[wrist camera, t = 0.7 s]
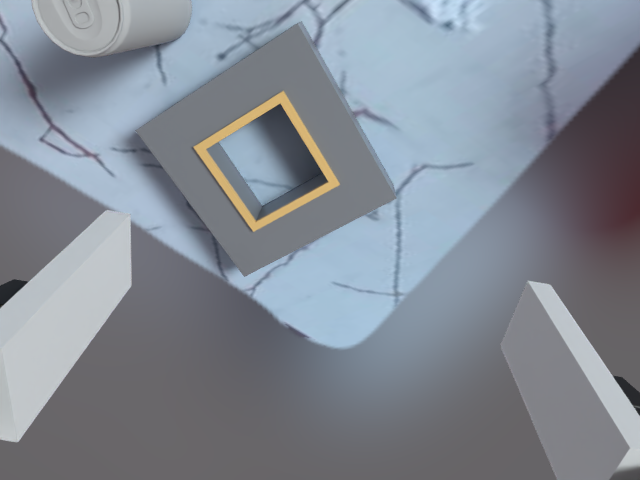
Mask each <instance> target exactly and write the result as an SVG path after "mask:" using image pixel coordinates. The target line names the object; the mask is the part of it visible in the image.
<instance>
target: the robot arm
mask: <svg viewBox="0 0 640 480" xmlns="http://www.w3.org/2000/svg"><path fill="white" fill-rule="evenodd" d="M130 235H131V229H130V214H127V213H121V212H115V211H109V210H106V211H105V212H104V213H103V214H102V215H101V216H99V217H98V218H97V219H96V220H95V221H94V222H93V223H92V224H91V225H90V226H89V227H88V228H87V229H85V230H84V231H83V232H82V233H81V234H80V235H79V236H78V237H77V238H76V239H75V240H74V241H72V242H71V243H70V244H69V245H68V246H67V247H66V248H65V249H64V250H63V251H62V252H61V253H60V254H58V255H57V256H56V257H55V258H54V259H53V260H52V261H51V262H50V263H49V264H48V265H46V267H44V268H43V269H42V270H41V271H40V272H39V273H38V274H37V275H36V276H35V277H34V278H32V279H31V280H30V281H29V282H27V281H21V280H12V281H9V282H7V283H5V284H3V285H1V286H0V439H1V440H7V441H13V442H18V441H19V440H20V438H21V437H22V436H23V434H24V433H25V432H26V430H27V429H28V427H29V426H30V425H31V423H32V422H33V421H34V419H35V418H36V416H37V415H38V414H39V412H40V411H41V409H42V408H43V407H44V405H45V404H46V403H47V401H48V400H49V398H50V397H51V396H52V394H53V393H54V392H55V390H56V389H57V387H58V386H59V385H60V383H61V382H62V381H63V379H64V378H65V376H66V375H67V374H68V372H69V371H70V370H71V368H72V367H73V365H74V364H75V363H76V361H77V360H78V358H79V357H80V356H81V354H82V353H83V352H84V350H85V349H86V347H87V346H88V345H89V343H90V342H91V340H92V339H93V338H94V336H95V335H96V334H97V332H98V331H99V329H100V328H101V327H102V325H103V324H104V323H105V321H106V320H107V318H108V317H109V316H110V314H111V313H112V312H113V310H114V309H115V307H116V306H117V305H118V303H119V302H120V301H121V299H122V298H123V296H124V295H125V294H126V292H127V291H128V289H129V288H130V287H131V236H130ZM500 347H501V349H502V351H503V354H504V356H505V358H506V361H507V363H508V365H509V367H510V370H511V372H512V375H513V377H514V379H515V382H516V384H517V387H518V389H519V391H520V393H521V396H522V398H523V401H524V403H525V405H526V407H527V410H528V412H529V415H530V417H531V419H532V422H533V424H534V426H535V429H536V431H537V434H538V436H539V438H540V441H541V443H542V445H543V448H544V450H545V452H546V454H547V457H548V459H549V462H550V464H551V466H552V469H553V471H554V473H555V476H556V478H557V480H640V393H639V392H638V391H637V390H636V389H635V388H634V387H633V386H631V385H630V384H629V383H628V382H627V381H626V380H625V379H623V378H622V377H618V376H612V375H611V373H610V372H609V370H608V369H607V367H606V366H605V364H604V363H603V361H602V360H601V358H600V357H599V355H598V354H597V353H596V351H595V350H594V348H593V347H592V345H591V344H590V342H589V341H588V339H587V338H586V336H585V335H584V333H583V332H582V331H581V329H580V328H579V326H578V325H577V323H576V322H575V320H574V319H573V317H572V316H571V314H570V313H569V311H568V310H567V309H566V307H565V306H564V304H563V303H562V301H561V300H560V298H559V297H558V295H557V294H556V292H555V291H554V290H553V288H552V286H551V285H550V284H543V283H537V282H532V281H527V284H526V286H525V288H524V291H523V293H522V295H521V298H520V300H519V302H518V305H517V307H516V310H515V312H514V314H513V317H512V319H511V321H510V324H509V326H508V329H507V331H506V333H505V336H504V338H503V340H502V343H501V345H500Z"/></svg>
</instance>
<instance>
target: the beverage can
mask: <svg viewBox="0 0 640 480" xmlns="http://www.w3.org/2000/svg"><path fill="white" fill-rule="evenodd" d="M31 1H32V8H33V11H34V14H35V17H36V19H37V22H38V23H39V25H40V26H41V28H42V30H43V31H44V33H45V34H46V35H47V36H48V37H49V38H50V39H51V40H52V42H53V43H55V44H56V45H58V46H59V47H61V48H62V49H63V50H65V51H68V52H70V53H73V54H75V55H81V56H87V57H101V56H107V55H112V54H116V53H121V52H126V51H130V50H135V49H139V48H144V47H149V46H153V45H158V44H162V43H167V42H171V41H174V40H176V39H178V38H180V37H181V36H182V35H183V34H184V33H185V31H186V29H187V28H188V26H189V23H190V19H191V15H192V2H191V0H31Z"/></svg>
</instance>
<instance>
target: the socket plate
mask: <svg viewBox="0 0 640 480" xmlns="http://www.w3.org/2000/svg"><path fill="white" fill-rule="evenodd" d="M279 104H281V105H282V107H283V109H284V110H285V112H286V113H287V115H288V117H289V118H290V120H291V122H292V123H293V125H294V126H295V128H296V130H297V131H298V133H299V135H300V136H301V138H302V139H303V141H304V143H305V144H306V146H307V148H308V149H309V151H310V152H311V154H312V156H313V157H314V159H315V161H316V162H317V164H318V166H319V167H320V169H321V170H322V172H323V173H322V174H320V175H318V176H316V177H314V178H313V179H311V180H309V181H307V182H305V183H304V184H302V185H300V186H298V187H296V188H295V189H293V190H291V191H289V192H288V193H286V194H284V195H282V196H280V197H279V198H277V199H275V200H273V201H271V202H270V203H268V204H266V205H264V206H262V205H261V204H260V202H259V201H258V199H257V198H256V196H255V195H254V193H253V192H252V191H251V189H250V188H249V186H248V185H247V183H246V182H245V180H244V179H243V177H242V176H241V174H240V173H239V172H238V170H237V169H236V167H235V166H234V164H233V163H232V161H231V160H230V158H229V157H228V155H227V154H226V153H225V151H224V150H223V148H222V147H221V145H220V144H219V141H220V140H222V139H223V138H225V137H227V136H228V135H230V134H232V133H233V132H235V131H236V130H238V129H240V128H241V127H243V126H245V125H246V124H248V123H249V122H251V121H253V120H254V119H256V118H257V117H259V116H261V115H262V114H264V113H266V112H267V111H269V110H270V109H272V108H274V107H275V106H277V105H279ZM136 132H137V133H138V135H139V136H140V138H141V139H142V140H143V142H144V143H145V144H146V146H147V147H148V148H149V150H150V151H151V152H152V154H153V155H154V156H155V158H156V159H157V160H158V162H159V163H160V164H161V166H162V167H163V168H164V170H165V171H166V172H167V174H168V175H169V176H170V178H171V179H172V180H173V182H174V183H175V184H176V186H177V187H178V189H179V190H180V191H181V193H182V194H183V195H184V197H185V198H186V199H187V201H188V202H189V203H190V205H191V206H192V207H193V209H194V210H195V211H196V213H197V214H198V215H199V217H200V218H201V219H202V221H203V222H204V223H205V225H206V226H207V227H208V229H209V230H210V231H211V233H212V234H213V235H214V237H215V238H216V240H217V241H218V242H219V244H220V245H221V246H222V248H223V249H224V250H225V252H226V253H227V254H228V256H229V257H230V258H231V260H232V261H233V262H234V264H235V265H236V266H237V268H238V269H239V270H240V272H241V273H242V274H243V276H244V277H245V276H247V275H249V274H251V273H253V272H255V271H257V270H258V269H260V268H262V267H264V266H266V265H268V264H270V263H272V262H274V261H276V260H278V259H280V258H282V257H284V256H286V255H287V254H289V253H291V252H293V251H295V250H297V249H299V248H301V247H303V246H305V245H307V244H309V243H311V242H313V241H315V240H317V239H318V238H320V237H322V236H324V235H326V234H328V233H330V232H332V231H334V230H336V229H338V228H340V227H342V226H344V225H346V224H347V223H349V222H351V221H353V220H355V219H357V218H359V217H361V216H363V215H365V214H367V213H369V212H371V211H373V210H375V209H377V208H378V207H380V206H382V205H384V204H386V203H388V202H390V201H392V200H394V199H396V194H395V190H394V185H393V183H392V181H391V180H390V178H389V176H388V174H387V173H386V171H385V169H384V167H383V165H382V164H381V162H380V160H379V158H378V156H377V155H376V153H375V151H374V149H373V148H372V146H371V144H370V142H369V140H368V139H367V137H366V135H365V133H364V132H363V130H362V128H361V126H360V124H359V123H358V121H357V119H356V117H355V115H354V114H353V112H352V110H351V108H350V107H349V105H348V103H347V101H346V99H345V98H344V96H343V94H342V92H341V90H340V89H339V87H338V85H337V83H336V82H335V80H334V78H333V76H332V74H331V73H330V71H329V69H328V67H327V66H326V64H325V62H324V60H323V58H322V57H321V55H320V53H319V51H318V49H317V48H316V46H315V44H314V42H313V41H312V39H311V37H310V35H309V33H308V32H307V30H306V28H305V26H304V25H303V23H302V22H300V23H297V24H296V25H294V26H293V27H291V28H290V29H288V30H287V31H285V32H284V33H282V34H281V35H279V36H278V37H276V38H275V39H273V40H272V41H270V42H269V43H267V44H266V45H264V46H263V47H261V48H260V49H258V50H256V51H255V52H253V53H252V54H250V55H249V56H247V57H246V58H244V59H243V60H241V61H240V62H238V63H237V64H235V65H234V66H232V67H231V68H229V69H228V70H226V71H225V72H223V73H222V74H220V75H219V76H217V77H216V78H214V79H213V80H211V81H210V82H208V83H207V84H205V85H204V86H202V87H201V88H199V89H198V90H196V91H195V92H193V93H192V94H190V95H189V96H187V97H186V98H184V99H183V100H181V101H180V102H178V103H177V104H175V105H174V106H172V107H171V108H169V109H168V110H166V111H165V112H163V113H161V114H160V115H158V116H157V117H155V118H154V119H152V120H151V121H149V122H148V123H146V124H145V125H143V126H142V127H140V128H139V129H137V130H136Z"/></svg>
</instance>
